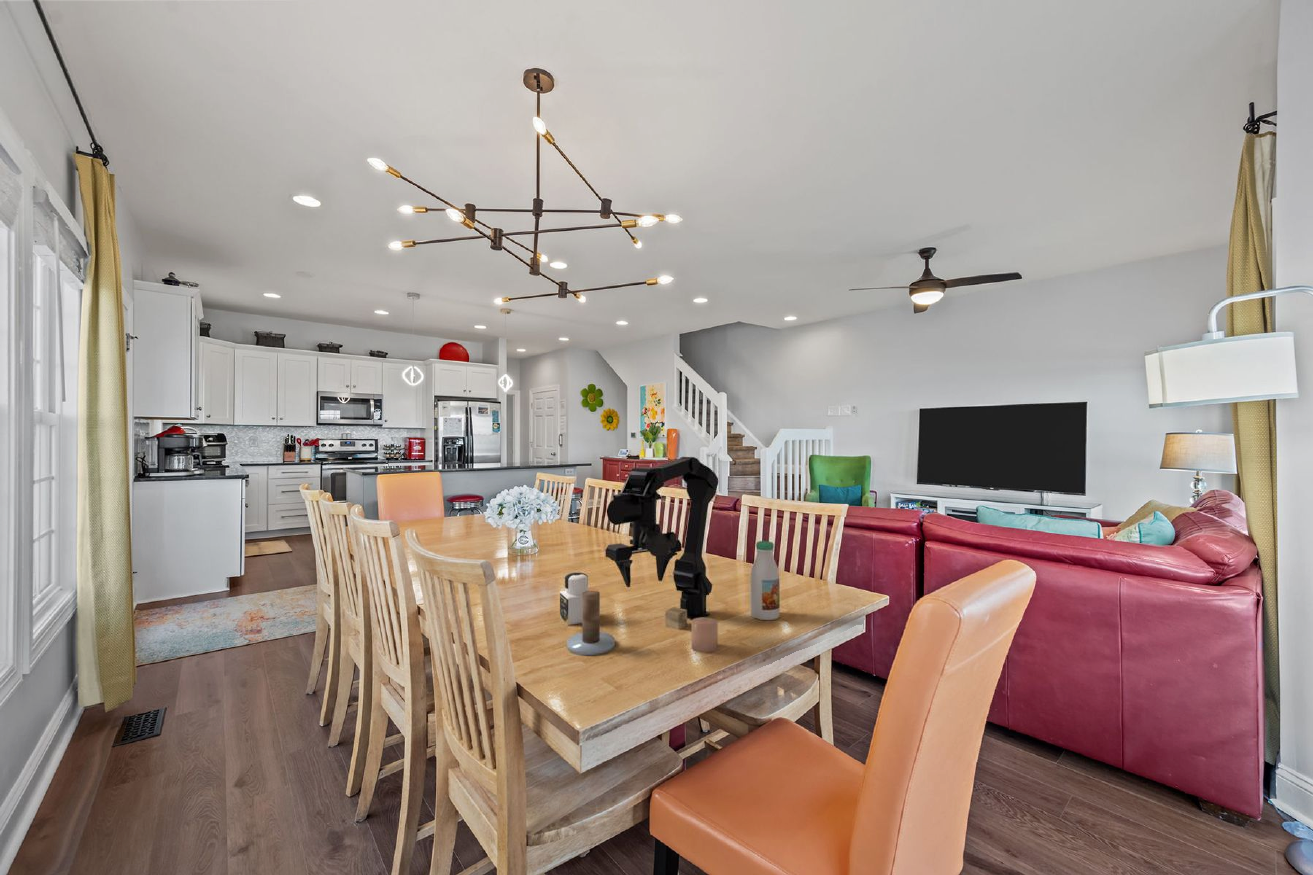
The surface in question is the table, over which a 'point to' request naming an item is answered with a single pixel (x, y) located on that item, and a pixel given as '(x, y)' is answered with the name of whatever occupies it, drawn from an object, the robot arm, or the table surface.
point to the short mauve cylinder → (704, 635)
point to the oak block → (676, 618)
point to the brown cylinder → (591, 617)
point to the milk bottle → (765, 584)
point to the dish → (590, 645)
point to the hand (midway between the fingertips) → (644, 583)
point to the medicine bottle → (573, 598)
